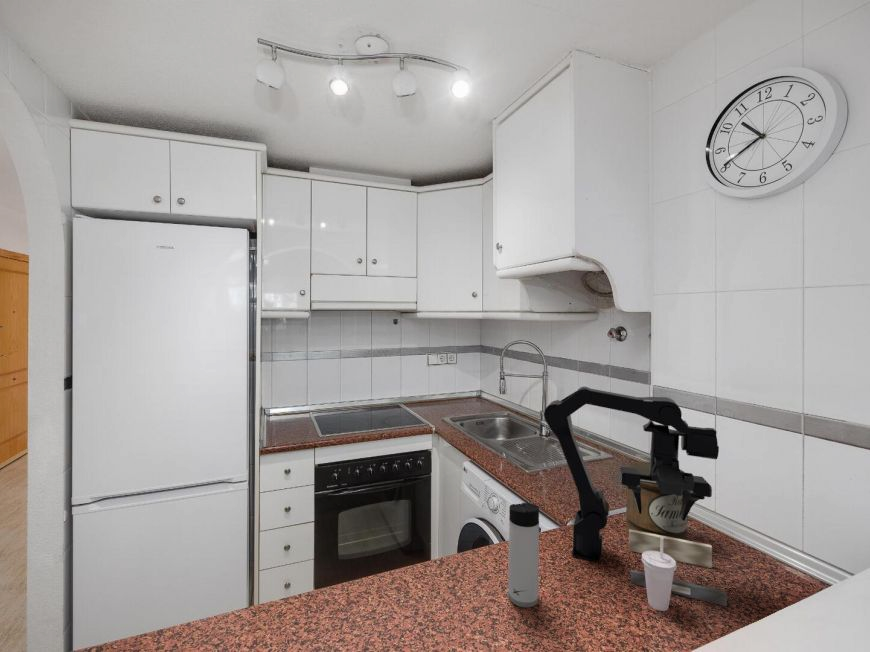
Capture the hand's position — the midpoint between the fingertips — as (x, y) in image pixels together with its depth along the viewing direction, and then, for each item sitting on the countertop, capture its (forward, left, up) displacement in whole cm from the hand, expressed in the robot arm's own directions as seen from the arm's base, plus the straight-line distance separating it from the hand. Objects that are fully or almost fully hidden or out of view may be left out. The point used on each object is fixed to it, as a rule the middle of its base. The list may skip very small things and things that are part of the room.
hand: (661, 516), depth 97 cm
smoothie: (-2, -14, -13) cm, 19 cm away
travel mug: (-28, -24, -13) cm, 39 cm away
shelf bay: (+2, -1, -13) cm, 13 cm away
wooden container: (0, +18, -13) cm, 22 cm away
